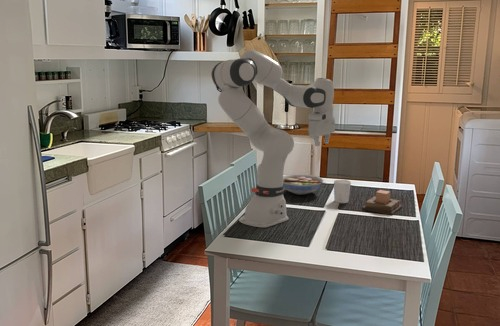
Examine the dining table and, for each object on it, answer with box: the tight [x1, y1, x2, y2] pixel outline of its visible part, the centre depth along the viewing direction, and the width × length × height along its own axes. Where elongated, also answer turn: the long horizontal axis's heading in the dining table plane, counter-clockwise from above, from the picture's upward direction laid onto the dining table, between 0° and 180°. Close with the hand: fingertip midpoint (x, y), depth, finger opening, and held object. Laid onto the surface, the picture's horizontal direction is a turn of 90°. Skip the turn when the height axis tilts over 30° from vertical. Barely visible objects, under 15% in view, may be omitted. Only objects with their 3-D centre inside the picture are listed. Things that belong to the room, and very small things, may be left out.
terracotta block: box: [375, 189, 391, 204], centre depth 220 cm, size 5×5×7 cm
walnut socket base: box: [361, 195, 403, 216], centre depth 221 cm, size 14×14×4 cm
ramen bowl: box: [283, 173, 325, 196], centre depth 244 cm, size 25×23×8 cm
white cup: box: [333, 179, 352, 204], centre depth 230 cm, size 8×8×10 cm
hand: (321, 144), depth 219 cm, fingers open, 8 cm apart
